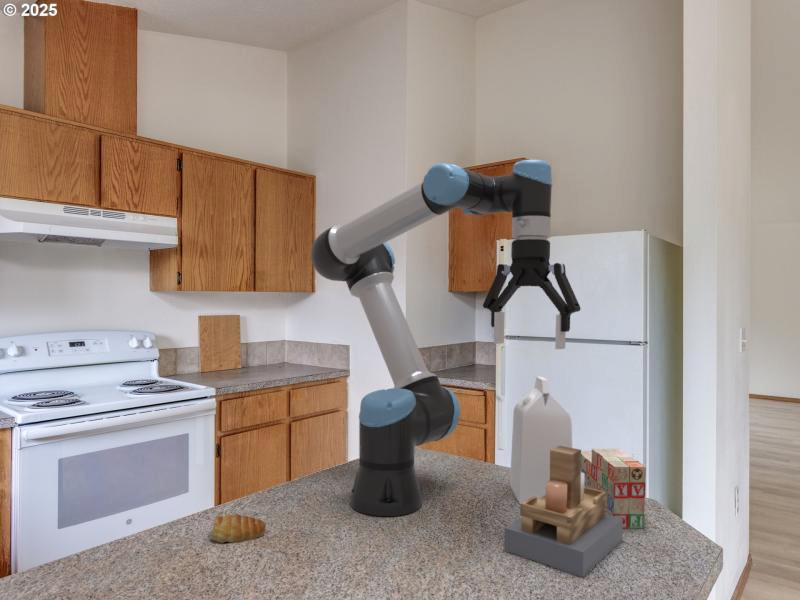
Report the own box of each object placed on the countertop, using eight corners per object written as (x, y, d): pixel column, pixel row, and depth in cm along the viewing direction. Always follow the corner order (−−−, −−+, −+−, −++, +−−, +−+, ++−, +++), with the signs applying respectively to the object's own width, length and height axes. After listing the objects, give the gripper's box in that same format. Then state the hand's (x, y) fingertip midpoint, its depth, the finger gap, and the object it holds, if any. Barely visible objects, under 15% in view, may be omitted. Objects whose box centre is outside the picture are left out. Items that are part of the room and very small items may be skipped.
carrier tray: (570, 545, 91) (571, 465, 91) (519, 529, 97) (521, 454, 97) (606, 516, 103) (607, 445, 103) (559, 504, 109) (561, 437, 109)
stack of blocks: (576, 490, 129) (577, 437, 129) (603, 491, 129) (604, 437, 129) (612, 529, 108) (613, 465, 108) (645, 530, 108) (646, 465, 108)
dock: (504, 550, 98) (504, 527, 98) (550, 520, 112) (550, 499, 112) (582, 577, 89) (583, 552, 89) (622, 540, 103) (622, 518, 103)
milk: (574, 505, 120) (576, 382, 120) (519, 504, 120) (521, 382, 120) (559, 486, 132) (560, 374, 132) (509, 485, 132) (511, 374, 132)
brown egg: (541, 509, 97) (541, 483, 97) (553, 504, 100) (553, 478, 100) (559, 515, 95) (559, 488, 95) (571, 510, 97) (571, 484, 97)
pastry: (266, 527, 107) (266, 507, 107) (264, 542, 101) (264, 521, 101) (214, 530, 105) (214, 510, 105) (209, 546, 99) (209, 525, 99)
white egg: (560, 498, 103) (560, 473, 103) (568, 492, 106) (568, 468, 106) (579, 502, 101) (580, 477, 100) (587, 497, 103) (587, 472, 103)
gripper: (468, 240, 118) (465, 342, 118) (583, 234, 102) (580, 352, 102) (487, 243, 124) (485, 340, 124) (599, 238, 107) (596, 349, 108)
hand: (528, 346), depth 113 cm, fingers open, 13 cm apart
